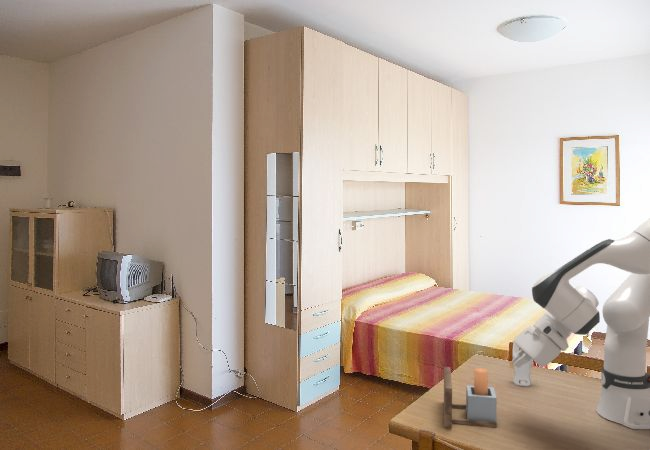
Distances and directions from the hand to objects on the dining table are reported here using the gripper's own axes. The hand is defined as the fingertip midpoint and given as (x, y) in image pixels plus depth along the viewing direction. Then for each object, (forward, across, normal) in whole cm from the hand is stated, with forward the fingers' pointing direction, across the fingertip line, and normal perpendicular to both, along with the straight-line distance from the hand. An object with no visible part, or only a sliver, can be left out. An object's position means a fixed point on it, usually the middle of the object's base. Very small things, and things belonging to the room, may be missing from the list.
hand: (514, 364), depth 149 cm
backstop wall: (+21, -6, +4) cm, 23 cm away
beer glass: (+3, -34, +21) cm, 40 cm away
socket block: (+19, -5, +7) cm, 21 cm away
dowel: (+18, -5, +6) cm, 20 cm away
